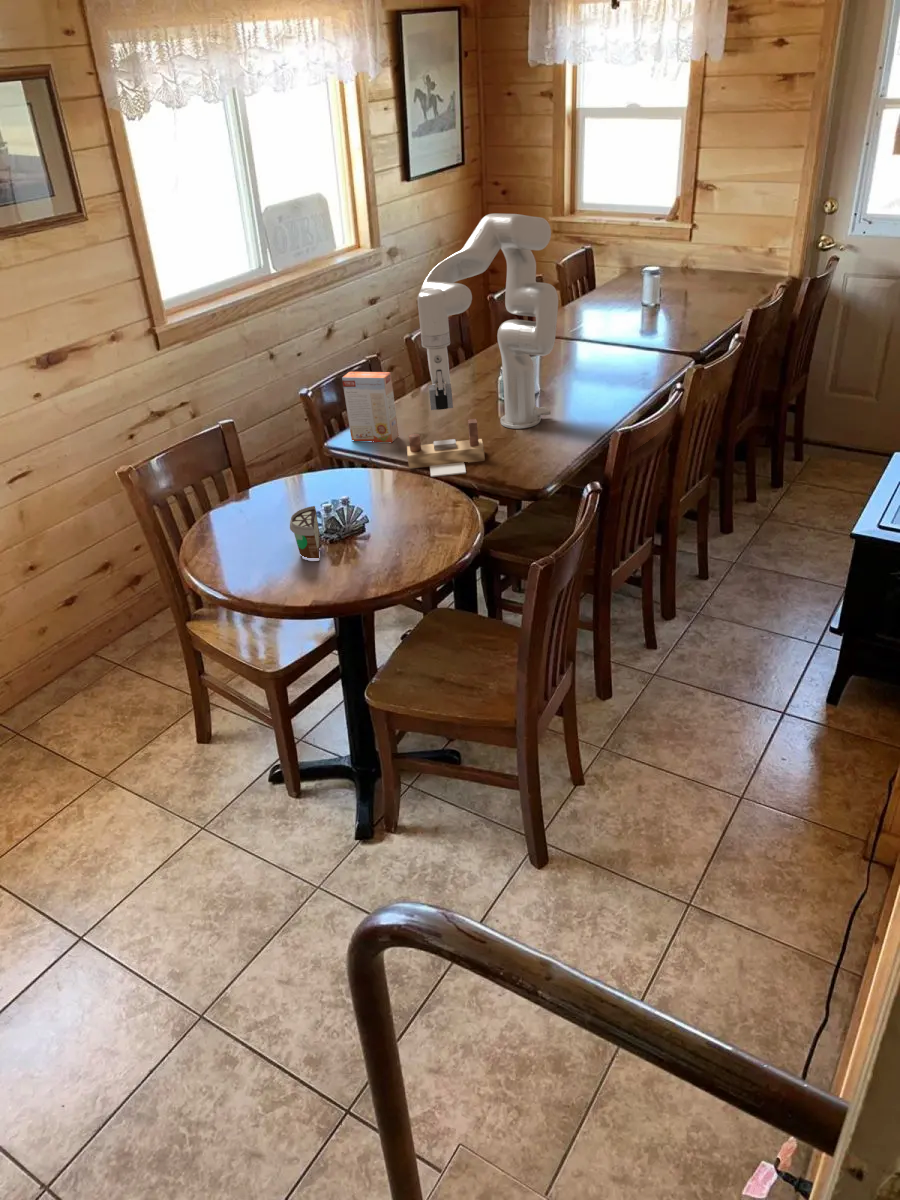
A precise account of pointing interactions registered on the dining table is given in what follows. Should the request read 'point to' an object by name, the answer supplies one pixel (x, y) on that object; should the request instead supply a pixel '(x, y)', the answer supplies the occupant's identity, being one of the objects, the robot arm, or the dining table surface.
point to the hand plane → (446, 450)
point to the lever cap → (433, 393)
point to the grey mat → (447, 469)
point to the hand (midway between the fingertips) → (441, 405)
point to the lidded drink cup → (306, 531)
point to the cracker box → (370, 406)
